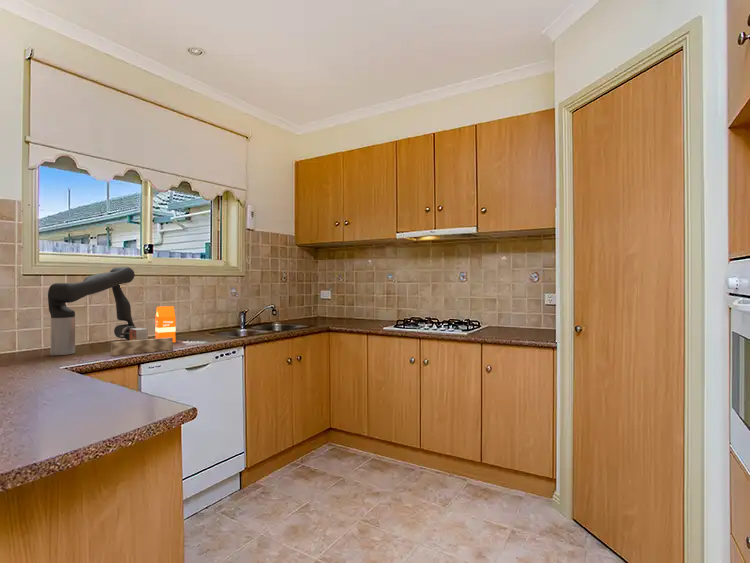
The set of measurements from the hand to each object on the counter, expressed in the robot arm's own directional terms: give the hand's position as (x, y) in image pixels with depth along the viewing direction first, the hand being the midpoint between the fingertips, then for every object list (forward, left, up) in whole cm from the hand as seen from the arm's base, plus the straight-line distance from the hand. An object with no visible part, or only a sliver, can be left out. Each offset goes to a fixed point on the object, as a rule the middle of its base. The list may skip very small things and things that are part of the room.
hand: (137, 336), depth 214 cm
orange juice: (+17, +17, -6) cm, 25 cm away
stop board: (0, -14, -6) cm, 15 cm away
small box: (0, -4, -6) cm, 8 cm away
